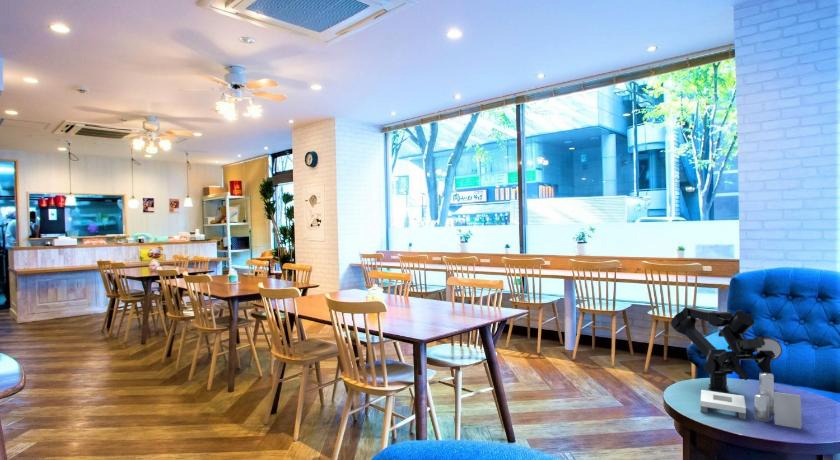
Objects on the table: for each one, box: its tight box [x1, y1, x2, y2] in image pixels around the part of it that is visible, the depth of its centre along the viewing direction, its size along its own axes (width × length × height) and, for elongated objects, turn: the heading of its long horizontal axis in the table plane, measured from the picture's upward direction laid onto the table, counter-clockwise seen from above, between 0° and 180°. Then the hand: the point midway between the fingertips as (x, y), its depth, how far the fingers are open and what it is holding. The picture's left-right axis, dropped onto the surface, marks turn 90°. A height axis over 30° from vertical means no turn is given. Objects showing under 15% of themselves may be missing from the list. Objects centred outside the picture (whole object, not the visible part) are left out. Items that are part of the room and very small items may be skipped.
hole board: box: [700, 389, 747, 420], centre depth 167 cm, size 13×13×4 cm
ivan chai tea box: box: [773, 391, 803, 430], centre depth 153 cm, size 4×7×10 cm, turn 57°
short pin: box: [753, 392, 770, 423], centre depth 157 cm, size 4×4×8 cm
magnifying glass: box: [755, 337, 783, 369], centre depth 187 cm, size 9×2×20 cm, turn 64°
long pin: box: [758, 371, 775, 415], centre depth 164 cm, size 4×4×13 cm
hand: (759, 379), depth 167 cm, fingers open, 9 cm apart
